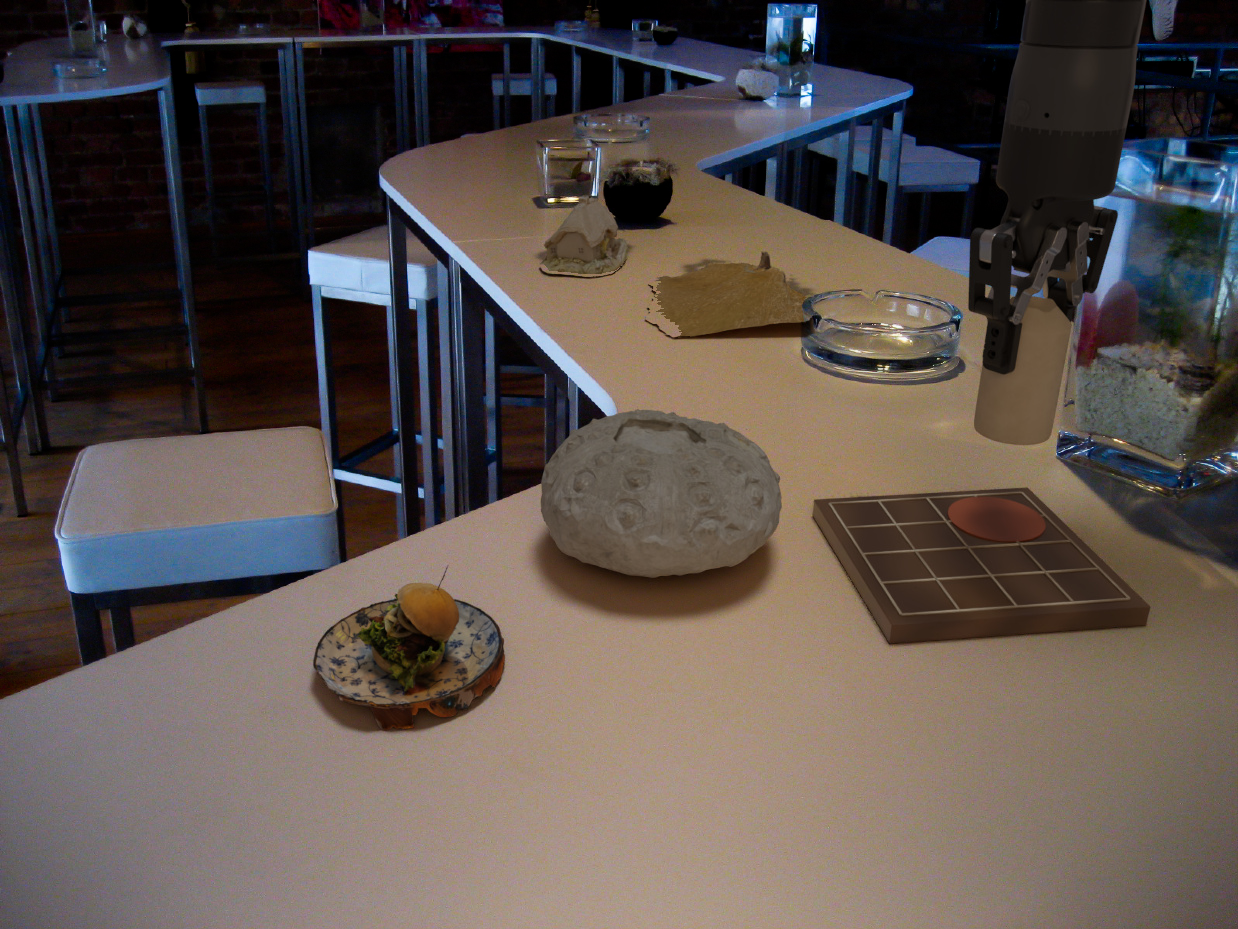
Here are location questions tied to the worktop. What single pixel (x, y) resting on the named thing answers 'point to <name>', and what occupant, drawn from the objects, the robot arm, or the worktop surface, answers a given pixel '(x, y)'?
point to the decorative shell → (659, 495)
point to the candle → (1026, 380)
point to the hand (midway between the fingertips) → (1023, 360)
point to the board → (973, 566)
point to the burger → (412, 655)
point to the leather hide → (729, 298)
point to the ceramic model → (586, 241)
